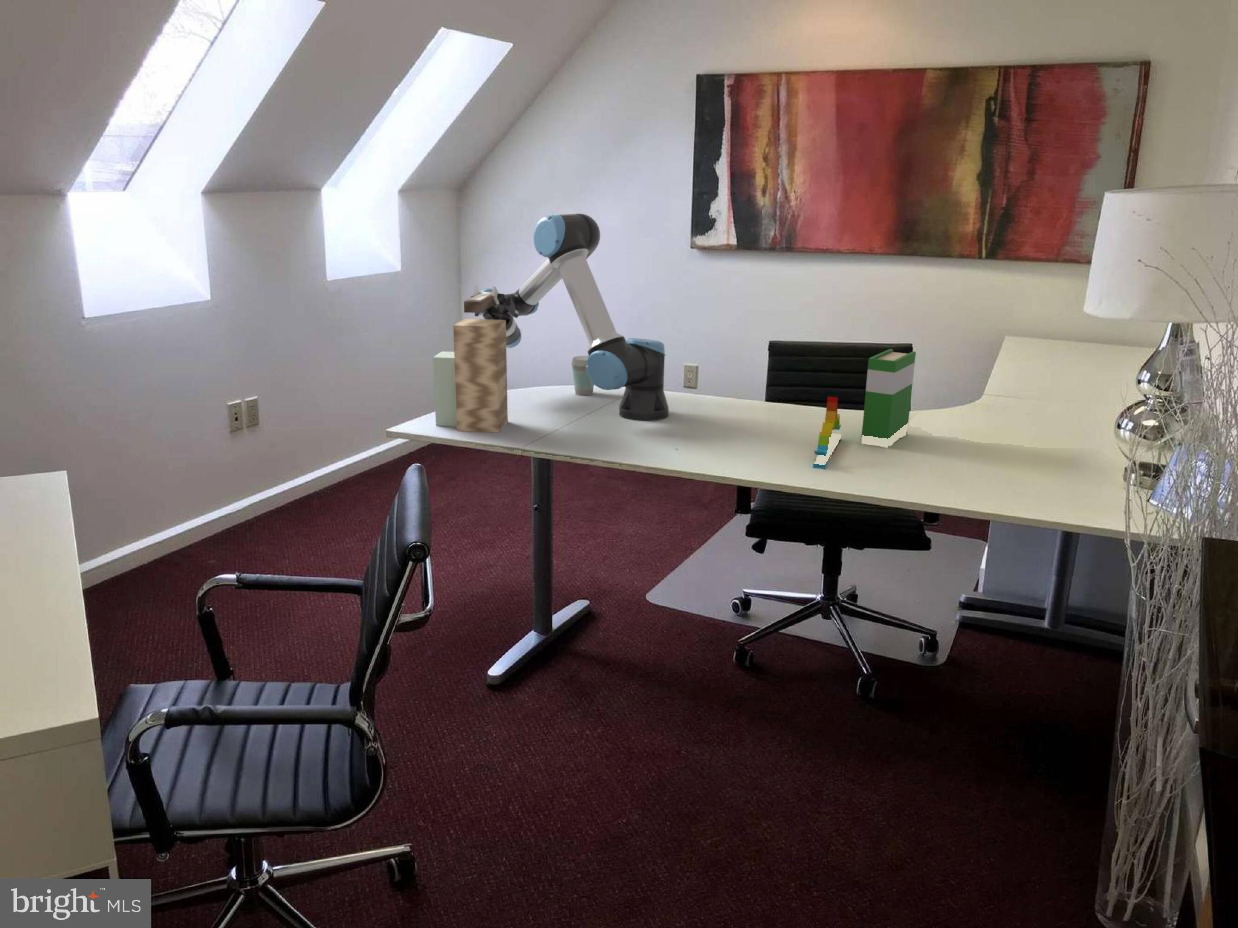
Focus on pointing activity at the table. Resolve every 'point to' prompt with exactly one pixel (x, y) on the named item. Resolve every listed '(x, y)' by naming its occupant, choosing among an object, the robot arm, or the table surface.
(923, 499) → the table surface
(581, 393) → the coffee cup
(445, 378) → the green pedestal
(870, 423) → the hardback book
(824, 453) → the chart
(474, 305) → the domino case
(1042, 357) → the table surface
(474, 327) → the oak stand
